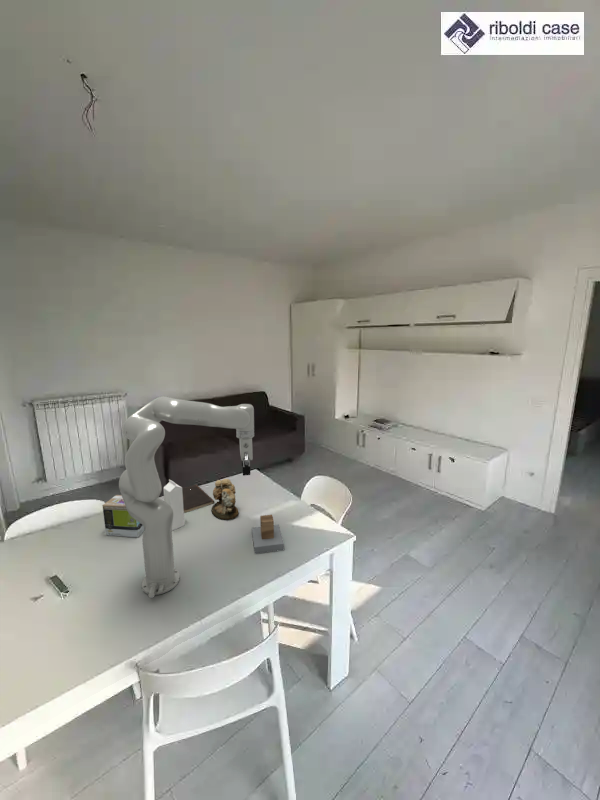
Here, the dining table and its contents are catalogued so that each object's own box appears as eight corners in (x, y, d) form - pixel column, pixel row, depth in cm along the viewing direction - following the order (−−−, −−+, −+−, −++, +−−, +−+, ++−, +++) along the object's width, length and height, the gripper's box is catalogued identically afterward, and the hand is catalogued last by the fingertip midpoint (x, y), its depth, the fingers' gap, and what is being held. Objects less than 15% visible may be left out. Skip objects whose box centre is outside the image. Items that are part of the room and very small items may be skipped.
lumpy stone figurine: (204, 508, 170) (203, 477, 167) (225, 501, 178) (224, 470, 174) (223, 523, 157) (222, 489, 154) (244, 514, 165) (244, 482, 161)
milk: (172, 530, 151) (168, 485, 146) (166, 525, 155) (162, 481, 150) (184, 525, 155) (181, 481, 151) (178, 520, 159) (175, 476, 155)
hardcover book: (184, 514, 165) (183, 510, 165) (168, 496, 183) (168, 492, 182) (214, 504, 175) (214, 500, 175) (197, 487, 193) (197, 484, 192)
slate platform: (283, 550, 139) (283, 543, 138) (254, 553, 136) (254, 547, 136) (278, 530, 152) (278, 524, 152) (251, 533, 150) (251, 527, 149)
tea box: (150, 525, 155) (147, 495, 152) (137, 538, 145) (134, 507, 142) (119, 522, 156) (116, 493, 153) (105, 535, 147) (101, 504, 144)
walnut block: (273, 538, 142) (273, 520, 140) (261, 539, 141) (261, 522, 139) (272, 531, 147) (272, 514, 145) (260, 532, 146) (260, 515, 144)
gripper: (255, 439, 137) (256, 478, 140) (252, 426, 153) (253, 462, 157) (236, 439, 135) (237, 479, 139) (235, 427, 152) (236, 463, 155)
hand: (246, 470), depth 148 cm, fingers open, 9 cm apart
